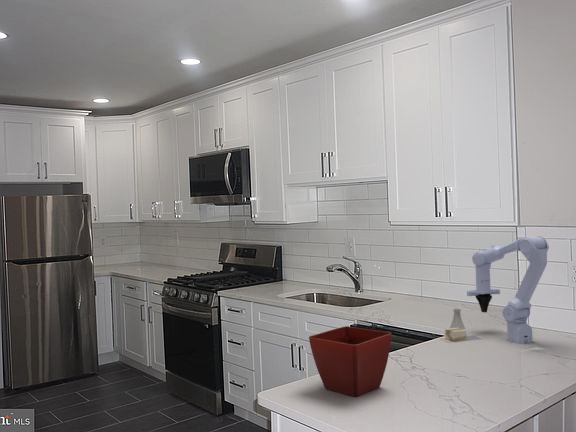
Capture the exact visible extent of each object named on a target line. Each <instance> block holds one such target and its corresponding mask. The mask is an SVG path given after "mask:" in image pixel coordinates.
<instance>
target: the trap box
mask: <svg viewBox="0 0 576 432" xmlns="http://www.w3.org/2000/svg"><path fill="white" fill-rule="evenodd" d="M479 336H480V337H481V338H480V337H478V334H477V335H476V334H474V335H466V338H467V340H466V341H467V342H468V341H478V340H479V341H480V340H482V337H483V338H484V339H486V340H489V337H486V336H484V335H481V334H479ZM444 339H445V337H444V338H443V337H442V338H439V340H441V341H444V342H446V343H448V341H447V340H446V339H445V340H444ZM466 341H465V342H466ZM457 342H460V341H456V342H455V343H457Z"/></svg>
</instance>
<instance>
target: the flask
mask: <svg viewBox="0 0 576 432" xmlns="http://www.w3.org/2000/svg"><path fill="white" fill-rule="evenodd" d="M452 310H453V317H452V320H451V323H450V327H449V328H461V329H463V330H466V327H465V325H464V322H463V320H462V316H461V315H462V314H461V311H462V310H461V308H453V309H452Z"/></svg>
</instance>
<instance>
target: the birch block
mask: <svg viewBox="0 0 576 432" xmlns="http://www.w3.org/2000/svg"><path fill="white" fill-rule="evenodd" d="M444 336H445V337H444V339H445V340H448V341H449V342H452V343H457V342H456V341H459V342H466V340H467V338H466V336H467V330H466V329H461V328H450V327H449V328H445V329H444Z"/></svg>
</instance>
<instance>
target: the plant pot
mask: <svg viewBox="0 0 576 432" xmlns="http://www.w3.org/2000/svg"><path fill="white" fill-rule="evenodd" d="M308 341H309V345H310V349H311V354H312V357H313V360H314V363H315V367H316V369H317V371H318V374H319V377H320V379H321V382H322V384H323V387H324V389H325V390H329V391H333V392H336V393H340V394H344V395H348V396H352V397H358V396H361V395H364V394H365V393H368V392H370V391H372V390H375V389H377V388H380V387H381V384H382V382H383V378H384V375H385V371H386V368H387V364H388V360H389V356H390V350H391V342H392V333H391V332H387V331H382V330H375V329H368V328H361V327H354V326H348V325H346V326H341V327H337V328H333V329H330V330H327V331H323V332H320V333H316V334H313V335H310V336H309V335H308Z"/></svg>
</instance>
